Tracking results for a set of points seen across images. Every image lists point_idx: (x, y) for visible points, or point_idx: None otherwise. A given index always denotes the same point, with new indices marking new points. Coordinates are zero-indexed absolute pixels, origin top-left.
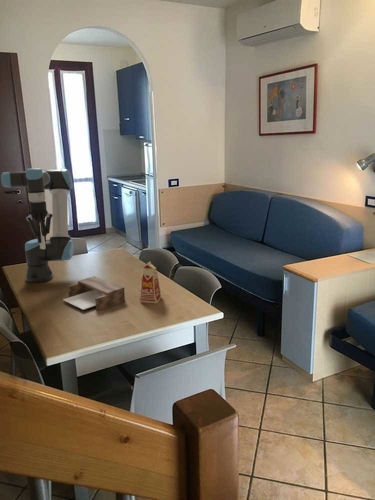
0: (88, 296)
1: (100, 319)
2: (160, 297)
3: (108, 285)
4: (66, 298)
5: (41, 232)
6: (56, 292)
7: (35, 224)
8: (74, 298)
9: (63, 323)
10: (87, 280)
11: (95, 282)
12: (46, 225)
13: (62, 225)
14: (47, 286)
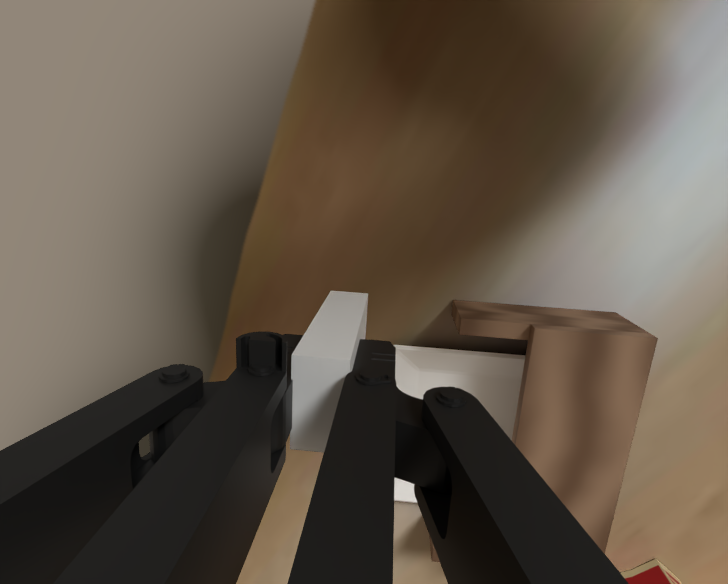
0: (509, 380)
1: None
2: None
3: (574, 516)
4: (409, 350)
5: (340, 400)
6: (456, 189)
7: (86, 557)
8: (443, 363)
9: (276, 503)
10: (572, 370)
11: (572, 431)
12: (482, 572)
13: None
14: (488, 44)
